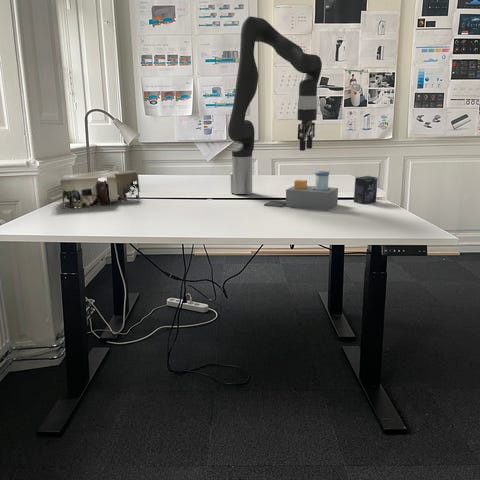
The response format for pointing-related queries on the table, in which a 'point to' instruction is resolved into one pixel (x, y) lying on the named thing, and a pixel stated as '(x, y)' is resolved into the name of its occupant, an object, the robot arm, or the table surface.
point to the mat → (275, 204)
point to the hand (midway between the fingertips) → (305, 149)
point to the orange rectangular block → (300, 184)
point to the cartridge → (322, 180)
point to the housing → (312, 198)
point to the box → (365, 189)
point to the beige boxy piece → (97, 187)
